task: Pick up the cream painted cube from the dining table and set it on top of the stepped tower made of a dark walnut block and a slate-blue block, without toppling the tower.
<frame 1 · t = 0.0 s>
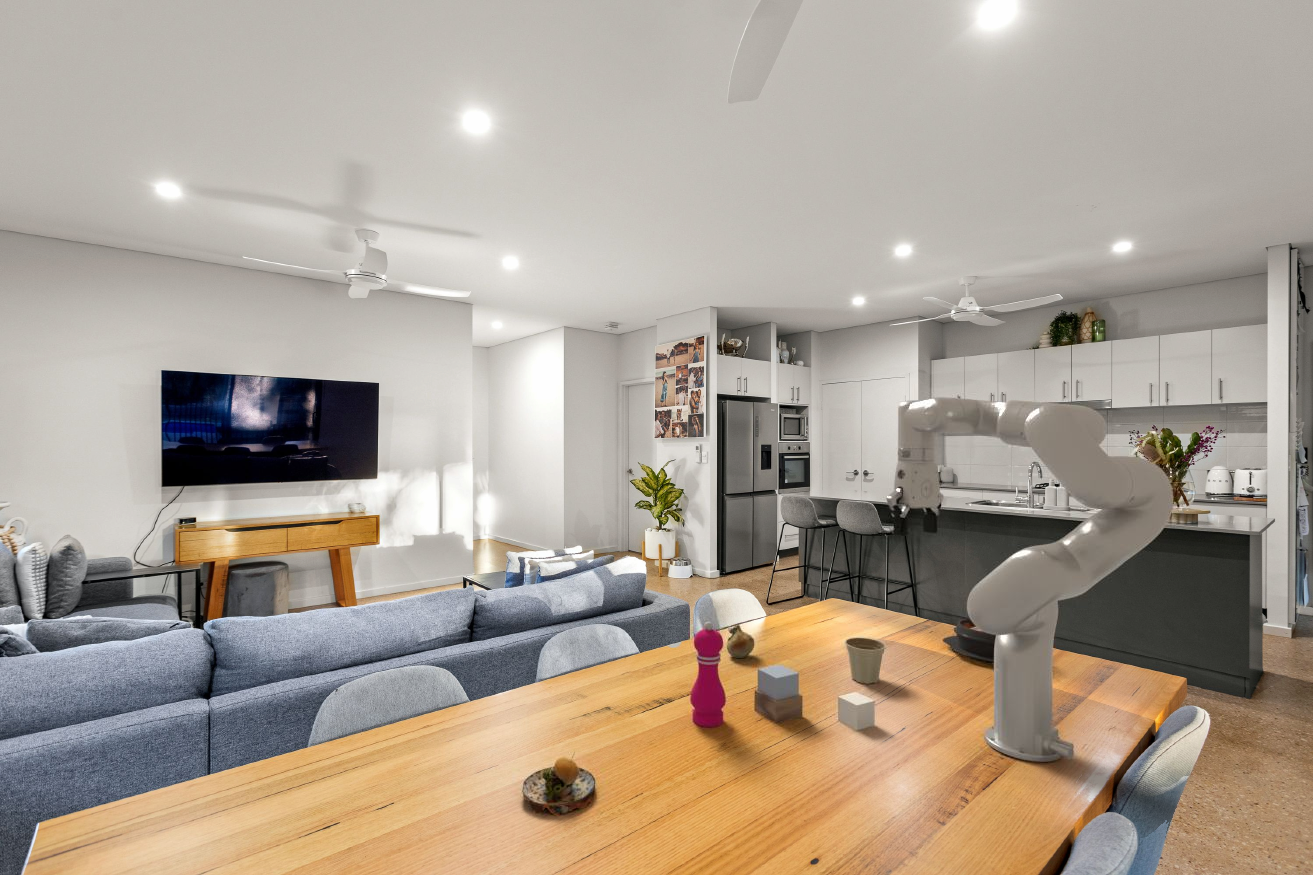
hand: (915, 533, 140), 37 cm above the table, tool pointing down, fingers open, 9 cm apart
onion: (739, 657, 167), on the table
flower pot: (865, 680, 152), on the table
casserole: (988, 657, 169), on the table
slate block: (777, 692, 132), point 4 cm above the table, touching walnut block
walnut block: (778, 714, 132), on the table, touching slate block
cream block: (856, 723, 128), on the table
pepper mill: (707, 721, 128), on the table
small plate of food: (558, 796, 101), on the table
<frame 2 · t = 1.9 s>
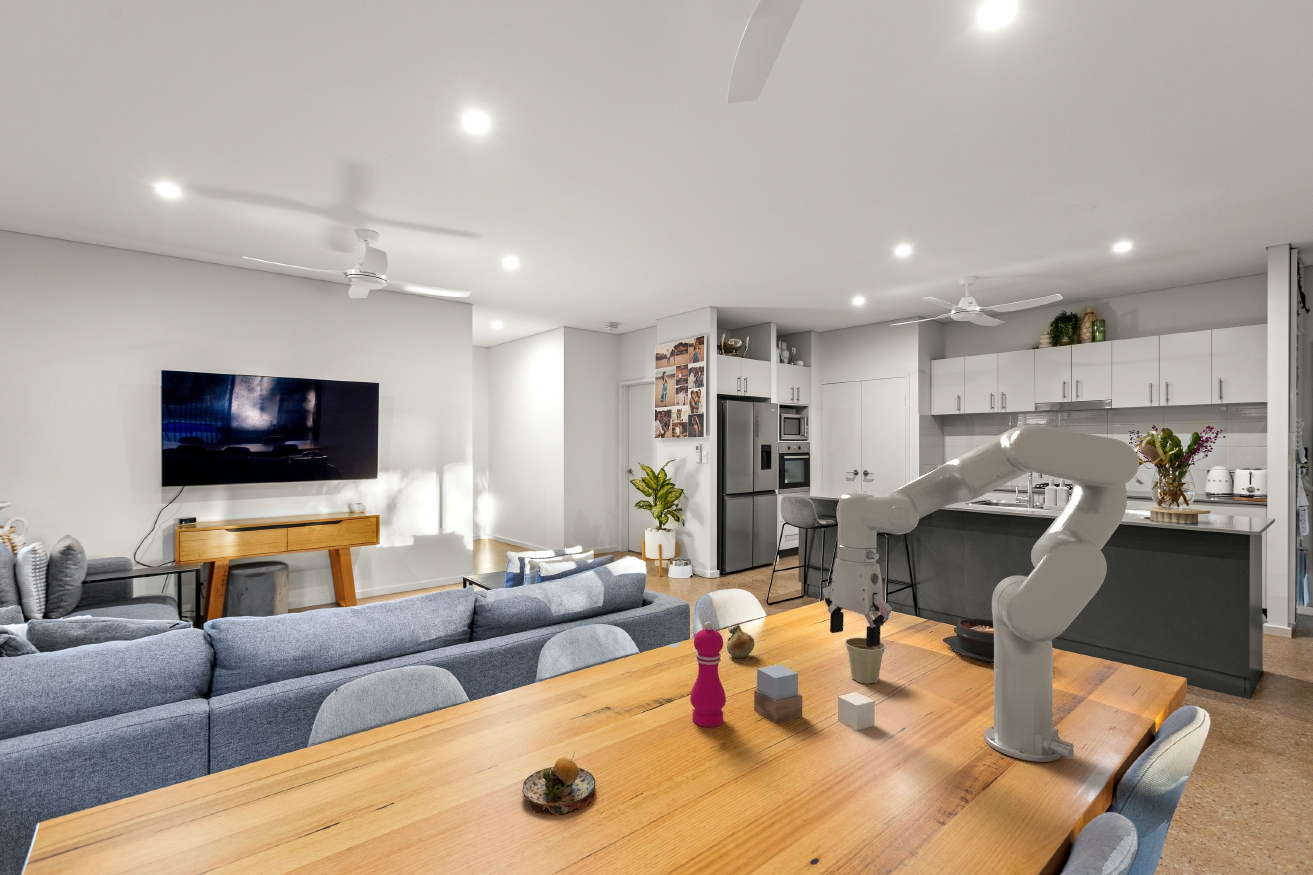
hand: (854, 638, 128), 17 cm above the table, tool pointing down, fingers open, 9 cm apart
nothing on the table moved.
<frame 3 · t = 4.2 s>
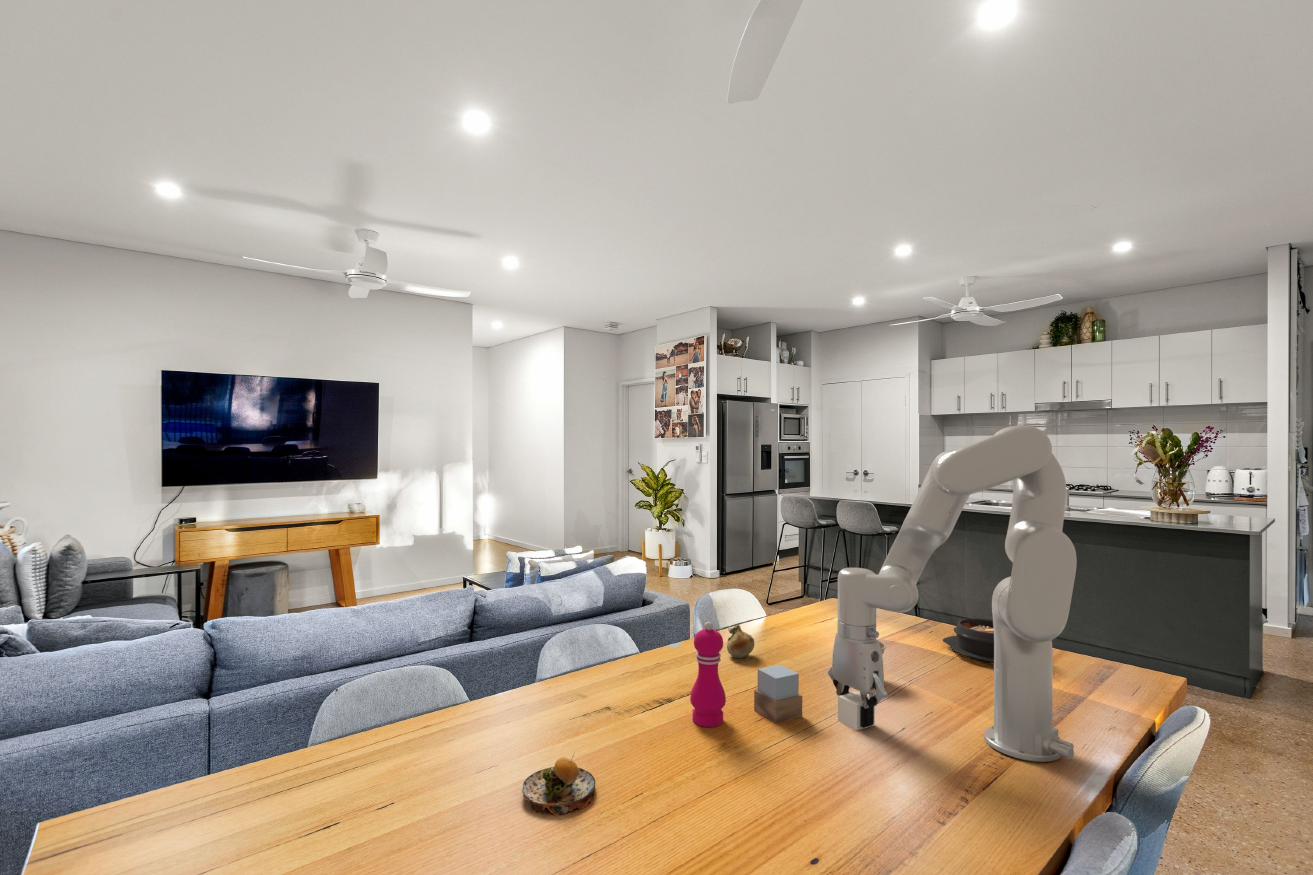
hand: (856, 719, 128), 1 cm above the table, tool pointing down, fingers closed on cream block, 5 cm apart
cream block: (856, 722, 128), on the table, touching gripper
everything else where it was.
when the fingers open (11 cm above the table, at t = 8.7 s): cream block drops 1 cm, resting on slate block.
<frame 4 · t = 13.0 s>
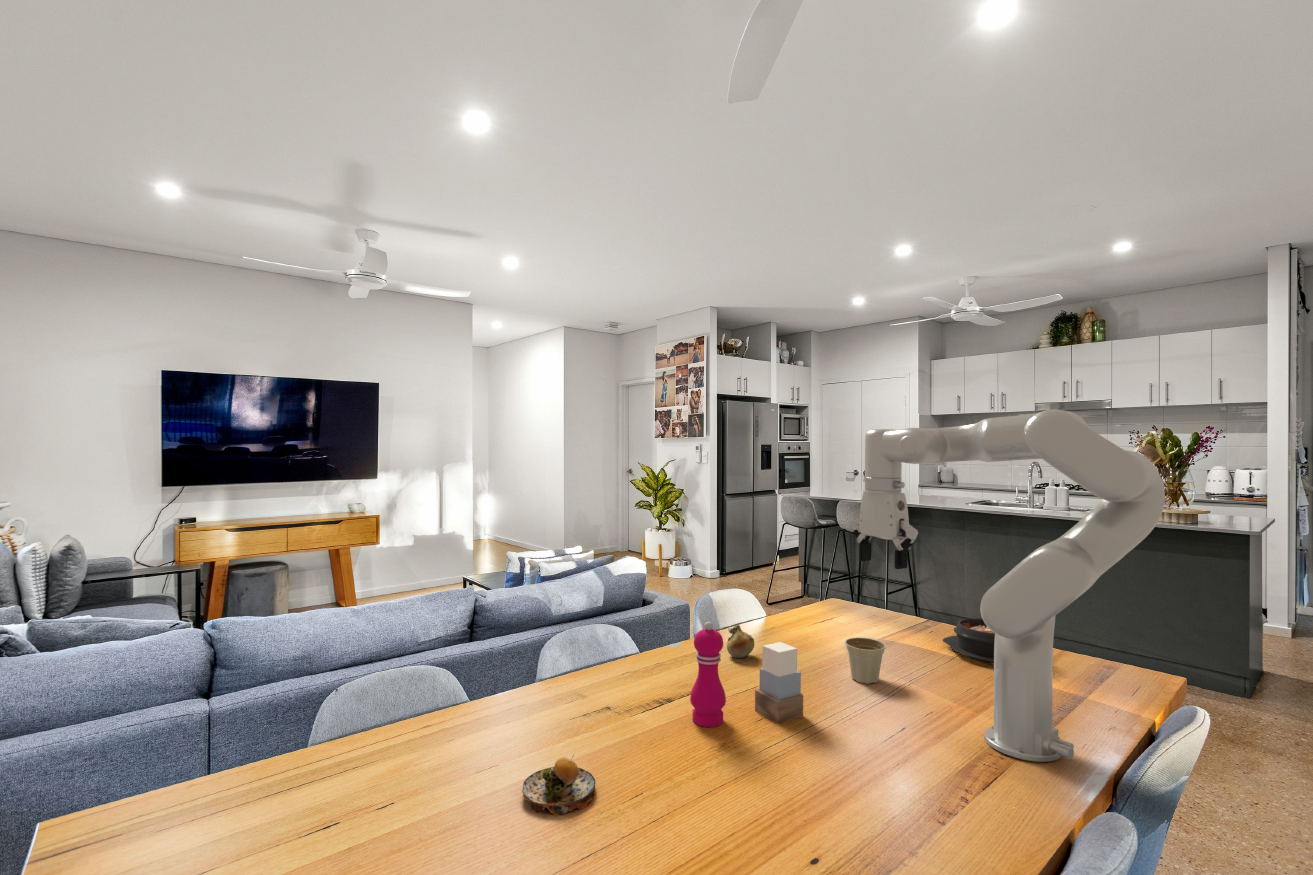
hand: (882, 564, 138), 30 cm above the table, tool pointing down, fingers open, 9 cm apart
slate block: (779, 691, 132), point 4 cm above the table, touching cream block, walnut block
cream block: (779, 670, 132), point 9 cm above the table, touching slate block
everything else where it was.
at the end: cream block 0.4 cm off-centre on the slate block, point 4.5 cm above the slate block's base; walnut block moved 0.3 cm from its start; cream block tilted 0° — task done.
